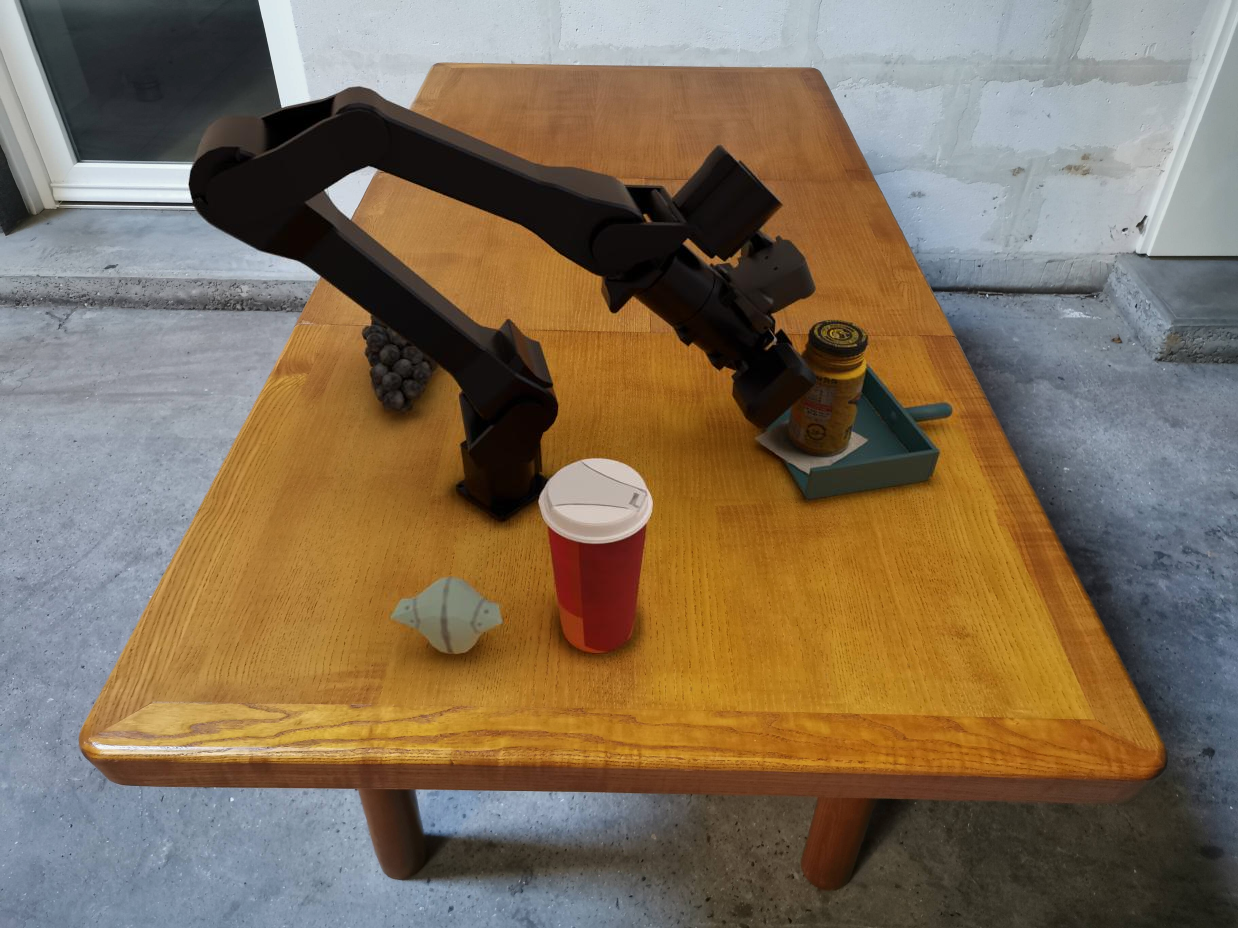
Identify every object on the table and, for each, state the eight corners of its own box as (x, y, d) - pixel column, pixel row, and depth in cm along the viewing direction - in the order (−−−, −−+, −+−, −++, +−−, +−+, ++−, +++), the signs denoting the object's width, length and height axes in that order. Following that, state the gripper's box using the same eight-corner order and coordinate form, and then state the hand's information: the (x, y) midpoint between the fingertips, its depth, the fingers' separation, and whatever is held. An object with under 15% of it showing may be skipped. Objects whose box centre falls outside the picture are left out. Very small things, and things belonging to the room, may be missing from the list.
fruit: (403, 352, 81) (425, 272, 92) (323, 376, 83) (355, 294, 94) (444, 421, 87) (460, 338, 98) (368, 443, 88) (393, 358, 99)
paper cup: (659, 601, 70) (667, 467, 61) (628, 676, 64) (632, 540, 56) (568, 577, 72) (562, 443, 63) (530, 648, 66) (518, 512, 57)
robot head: (397, 666, 65) (383, 605, 61) (410, 623, 68) (397, 562, 64) (505, 671, 65) (498, 611, 60) (513, 628, 68) (507, 567, 64)
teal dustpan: (806, 500, 80) (812, 471, 77) (749, 405, 91) (753, 378, 89) (987, 471, 83) (997, 443, 81) (910, 383, 94) (917, 356, 92)
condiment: (868, 441, 86) (893, 335, 78) (812, 478, 81) (833, 369, 74) (809, 408, 90) (828, 304, 82) (753, 441, 86) (768, 334, 78)
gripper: (806, 275, 62) (917, 382, 71) (722, 176, 76) (823, 275, 85) (695, 383, 66) (814, 471, 75) (634, 269, 80) (740, 355, 89)
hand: (798, 386), depth 81 cm, fingers closed, pressing on condiment
